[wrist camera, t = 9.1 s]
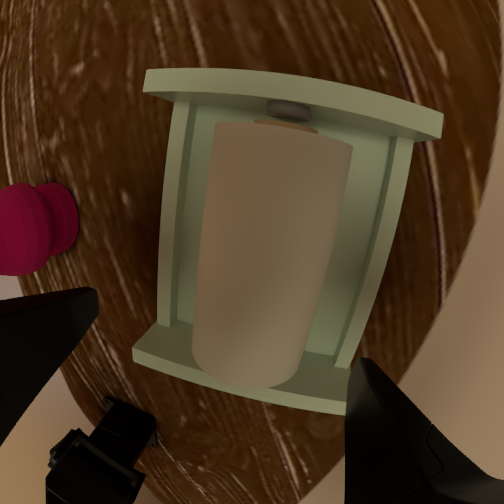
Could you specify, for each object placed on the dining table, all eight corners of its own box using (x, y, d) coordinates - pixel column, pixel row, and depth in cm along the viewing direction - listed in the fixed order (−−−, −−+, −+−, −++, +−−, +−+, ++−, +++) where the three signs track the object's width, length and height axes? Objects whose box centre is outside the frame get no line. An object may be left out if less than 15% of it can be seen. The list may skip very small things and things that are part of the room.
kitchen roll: (235, 124, 16) (196, 107, 10) (345, 143, 15) (366, 133, 9) (210, 317, 20) (174, 374, 14) (300, 337, 20) (294, 404, 14)
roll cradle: (341, 367, 21) (345, 419, 16) (167, 325, 23) (133, 365, 18) (408, 119, 15) (444, 105, 10) (190, 84, 17) (148, 62, 12)
